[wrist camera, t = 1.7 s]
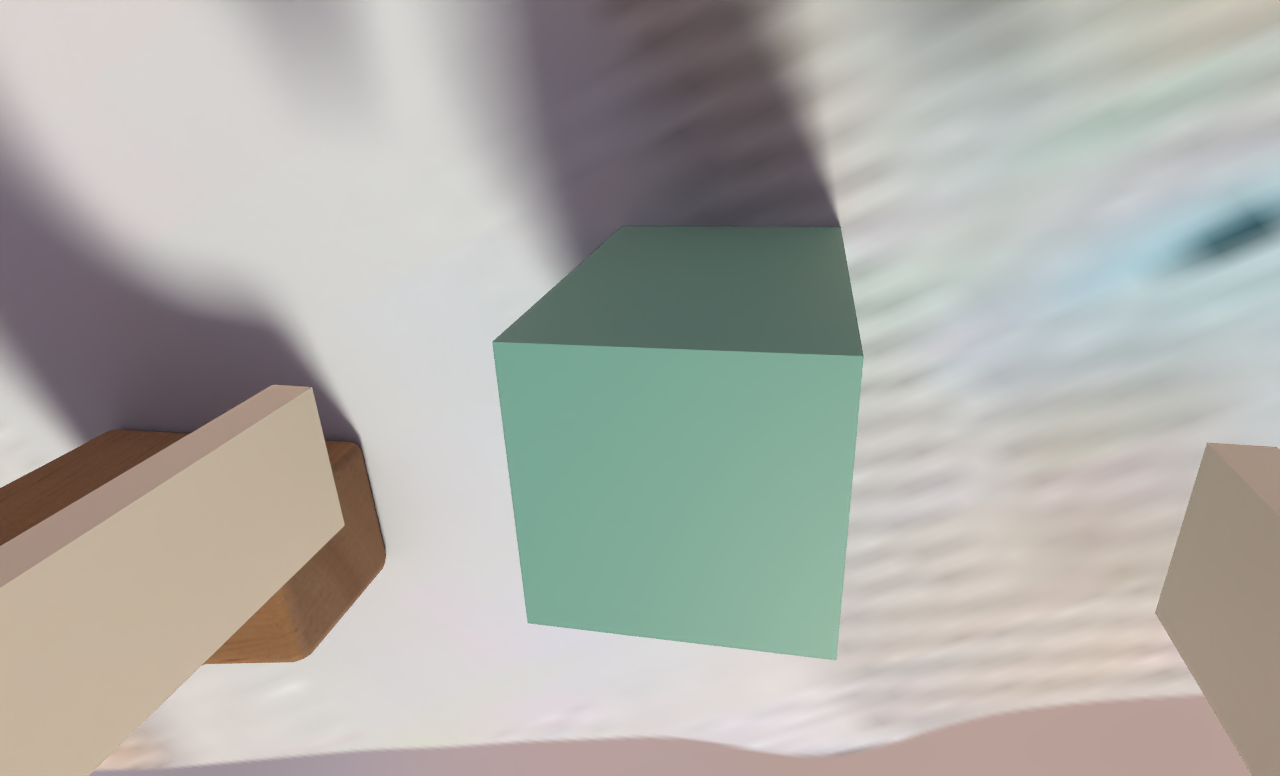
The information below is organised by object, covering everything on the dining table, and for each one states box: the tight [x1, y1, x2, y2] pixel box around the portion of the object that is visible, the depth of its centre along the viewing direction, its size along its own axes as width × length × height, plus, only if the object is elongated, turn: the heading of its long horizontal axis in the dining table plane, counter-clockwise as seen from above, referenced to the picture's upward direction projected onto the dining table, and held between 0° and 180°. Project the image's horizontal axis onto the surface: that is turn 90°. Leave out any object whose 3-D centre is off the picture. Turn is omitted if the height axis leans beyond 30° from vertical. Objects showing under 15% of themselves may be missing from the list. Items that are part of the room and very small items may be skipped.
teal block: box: [492, 226, 863, 660], centre depth 14 cm, size 5×5×8 cm
